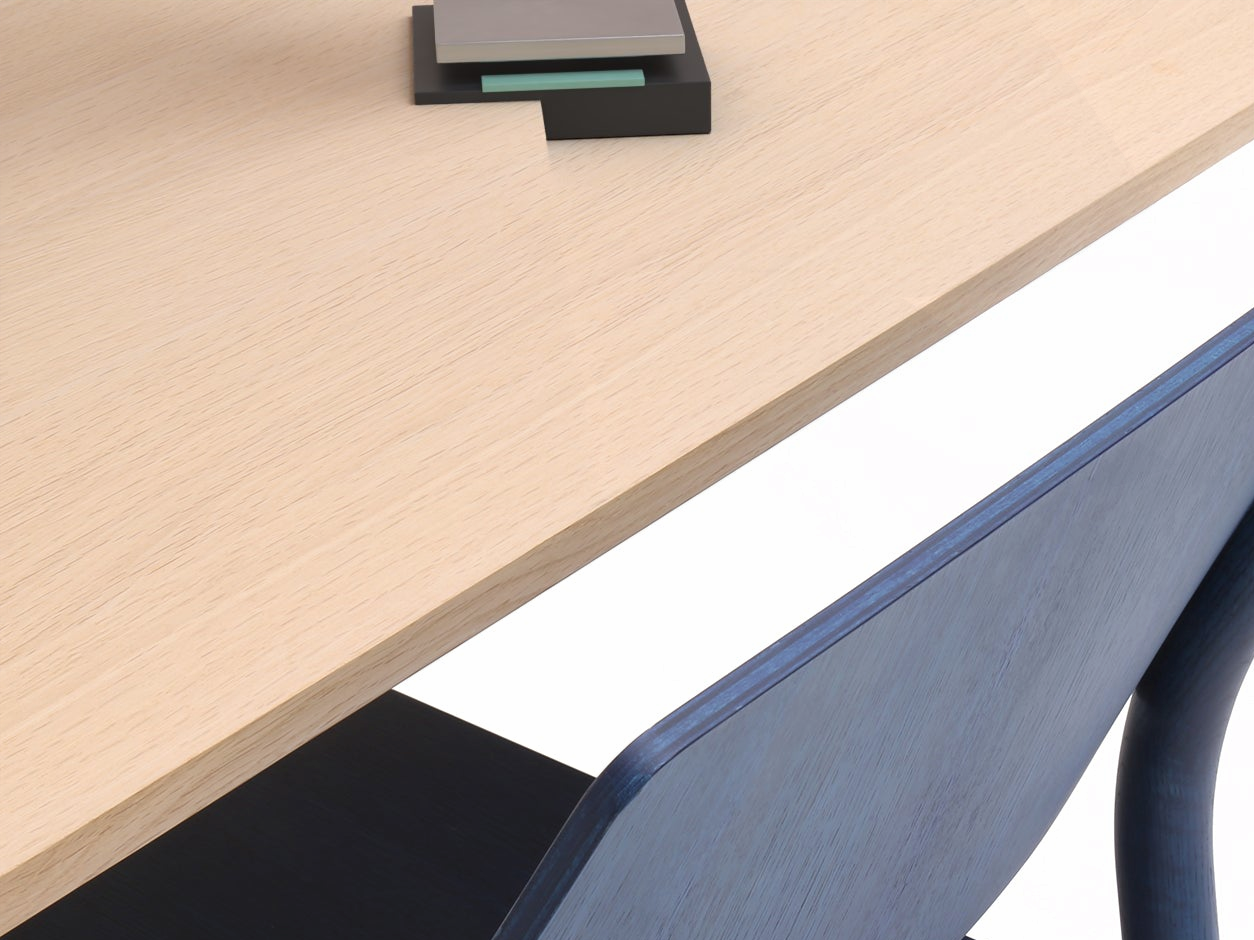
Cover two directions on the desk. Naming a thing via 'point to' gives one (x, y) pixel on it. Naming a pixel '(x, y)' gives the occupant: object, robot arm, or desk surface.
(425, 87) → the scale
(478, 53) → the scale pan
